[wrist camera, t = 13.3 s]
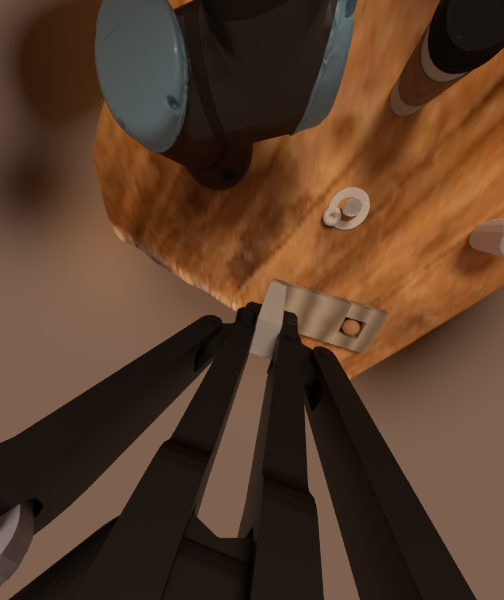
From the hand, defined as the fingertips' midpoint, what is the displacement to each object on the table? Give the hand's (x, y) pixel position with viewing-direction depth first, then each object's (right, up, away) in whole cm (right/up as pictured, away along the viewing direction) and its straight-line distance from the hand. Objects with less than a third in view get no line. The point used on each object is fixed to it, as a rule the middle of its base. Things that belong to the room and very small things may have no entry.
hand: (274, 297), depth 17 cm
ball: (+23, -7, +29) cm, 37 cm away
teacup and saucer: (+16, +21, +21) cm, 34 cm away
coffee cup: (+24, +34, +13) cm, 44 cm away
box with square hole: (+15, -4, +31) cm, 35 cm away
